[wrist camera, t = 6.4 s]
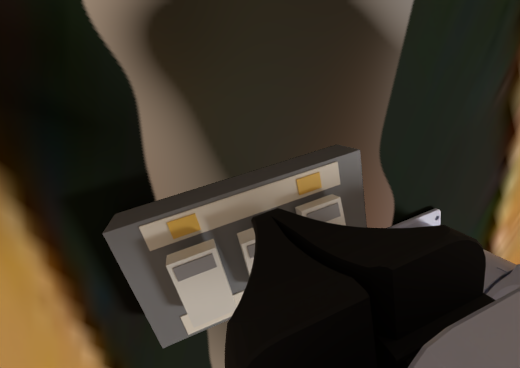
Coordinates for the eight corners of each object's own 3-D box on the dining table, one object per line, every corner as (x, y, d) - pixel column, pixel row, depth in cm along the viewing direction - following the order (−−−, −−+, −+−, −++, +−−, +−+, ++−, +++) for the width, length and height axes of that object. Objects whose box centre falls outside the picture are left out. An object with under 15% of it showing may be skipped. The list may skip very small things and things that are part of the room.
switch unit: (348, 241, 24) (371, 260, 22) (165, 316, 21) (162, 350, 18) (336, 144, 21) (361, 150, 18) (115, 213, 17) (101, 235, 14)
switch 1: (233, 297, 18) (237, 310, 17) (193, 314, 17) (194, 328, 16) (213, 238, 16) (215, 248, 15) (166, 255, 15) (165, 266, 14)
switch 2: (288, 270, 19) (294, 282, 18) (251, 285, 18) (256, 298, 18) (279, 217, 16) (286, 228, 16) (236, 233, 16) (241, 245, 15)
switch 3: (344, 255, 19) (353, 262, 18) (310, 270, 19) (317, 278, 18) (331, 193, 18) (341, 197, 17) (294, 207, 18) (302, 211, 16)
